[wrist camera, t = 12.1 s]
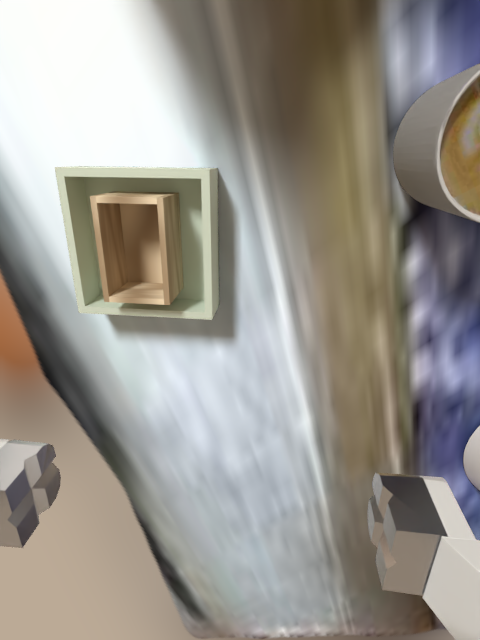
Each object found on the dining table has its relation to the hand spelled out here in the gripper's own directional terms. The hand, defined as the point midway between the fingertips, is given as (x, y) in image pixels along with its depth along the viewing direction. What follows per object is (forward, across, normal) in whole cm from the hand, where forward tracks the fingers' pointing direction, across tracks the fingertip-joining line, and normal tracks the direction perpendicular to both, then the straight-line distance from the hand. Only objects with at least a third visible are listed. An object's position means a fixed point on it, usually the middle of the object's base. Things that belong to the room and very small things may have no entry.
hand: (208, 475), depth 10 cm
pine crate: (+28, -11, 0) cm, 30 cm away
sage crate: (+29, -11, 0) cm, 31 cm away
